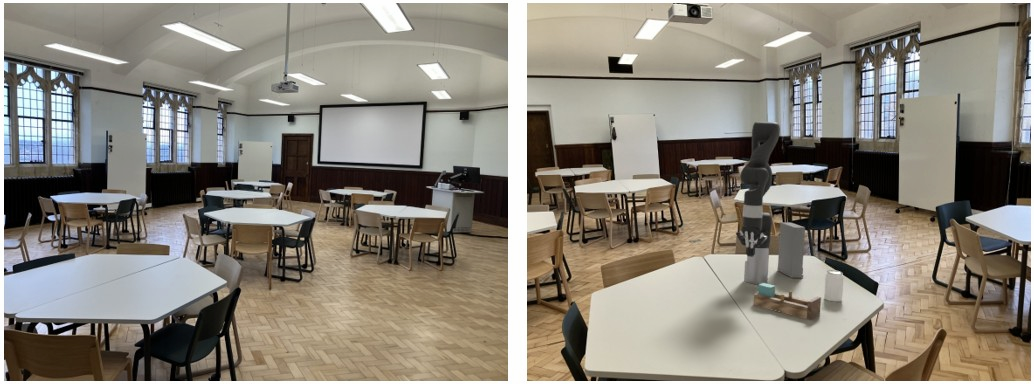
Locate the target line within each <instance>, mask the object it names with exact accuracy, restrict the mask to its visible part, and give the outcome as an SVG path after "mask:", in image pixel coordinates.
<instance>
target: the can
mask: <svg viewBox="0 0 1034 384" xmlns="http://www.w3.org/2000/svg"><path fill="white" fill-rule="evenodd" d="M844 279H845V278H844V275H843V272H842V271H839V270H833V269H832V270H830V269H829V270H827V272H826V274H825V279H824V280H825V281H824V283H825V284H824V295H823V296H824V297H823V298H824V300H825V301H828V302H833V303H834V302H835V303H839V302H842V300H843V291H844Z"/></svg>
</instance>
